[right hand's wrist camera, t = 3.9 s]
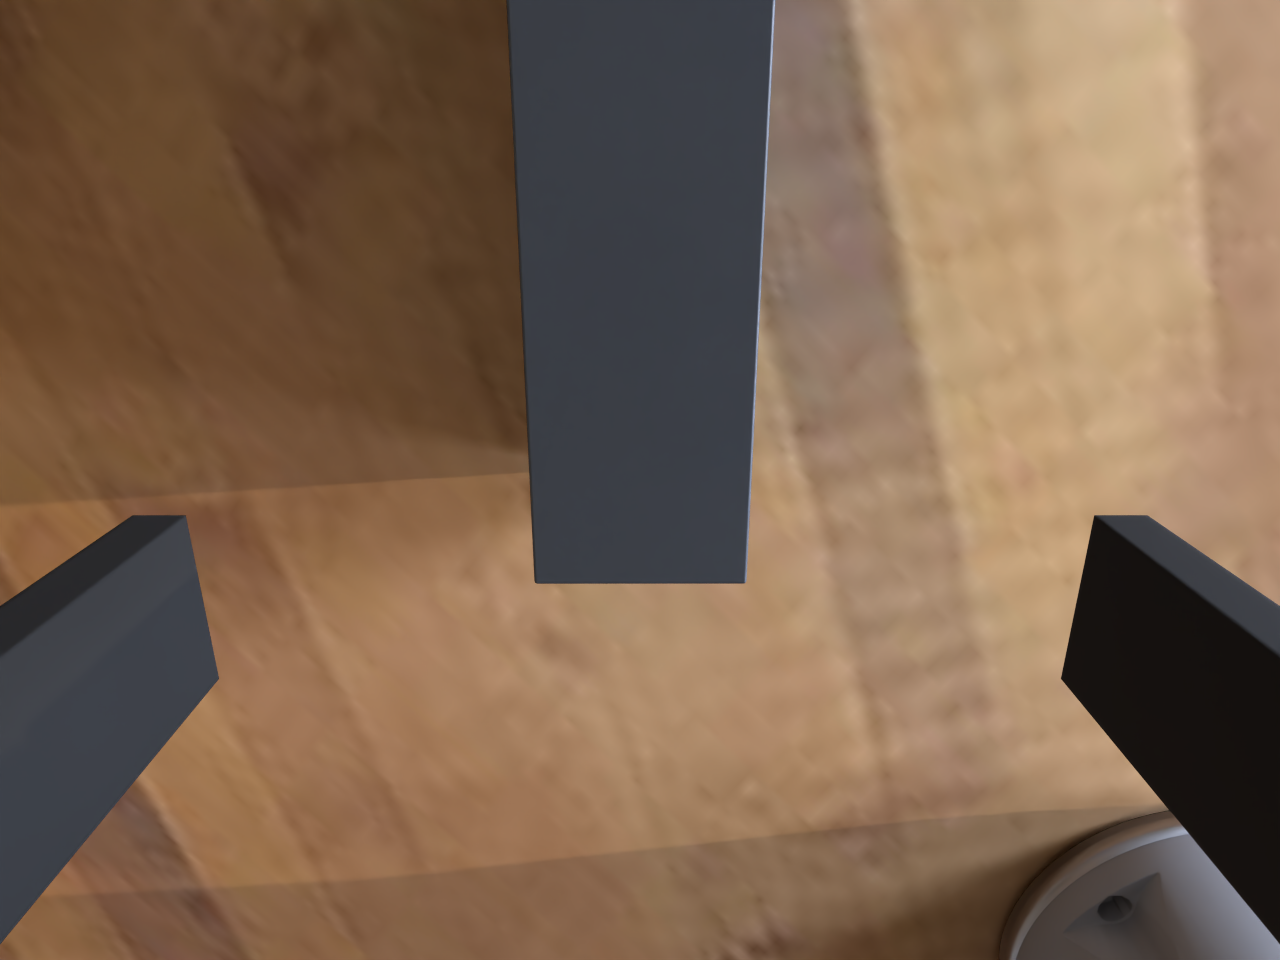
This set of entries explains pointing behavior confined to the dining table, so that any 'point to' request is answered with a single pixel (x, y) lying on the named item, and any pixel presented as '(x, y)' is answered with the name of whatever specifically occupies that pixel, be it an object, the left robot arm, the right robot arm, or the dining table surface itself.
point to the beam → (640, 280)
